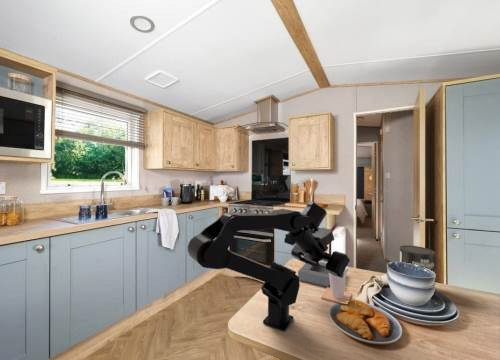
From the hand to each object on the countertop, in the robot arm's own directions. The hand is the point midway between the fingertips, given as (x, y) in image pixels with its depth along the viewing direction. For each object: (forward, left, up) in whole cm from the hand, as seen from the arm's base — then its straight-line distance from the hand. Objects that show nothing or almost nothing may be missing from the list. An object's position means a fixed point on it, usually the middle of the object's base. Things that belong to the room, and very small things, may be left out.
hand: (330, 271), depth 74 cm
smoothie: (+3, -2, -9) cm, 9 cm away
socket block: (+15, +6, -9) cm, 19 cm away
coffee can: (+23, -24, -9) cm, 35 cm away
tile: (+3, -1, -9) cm, 10 cm away
